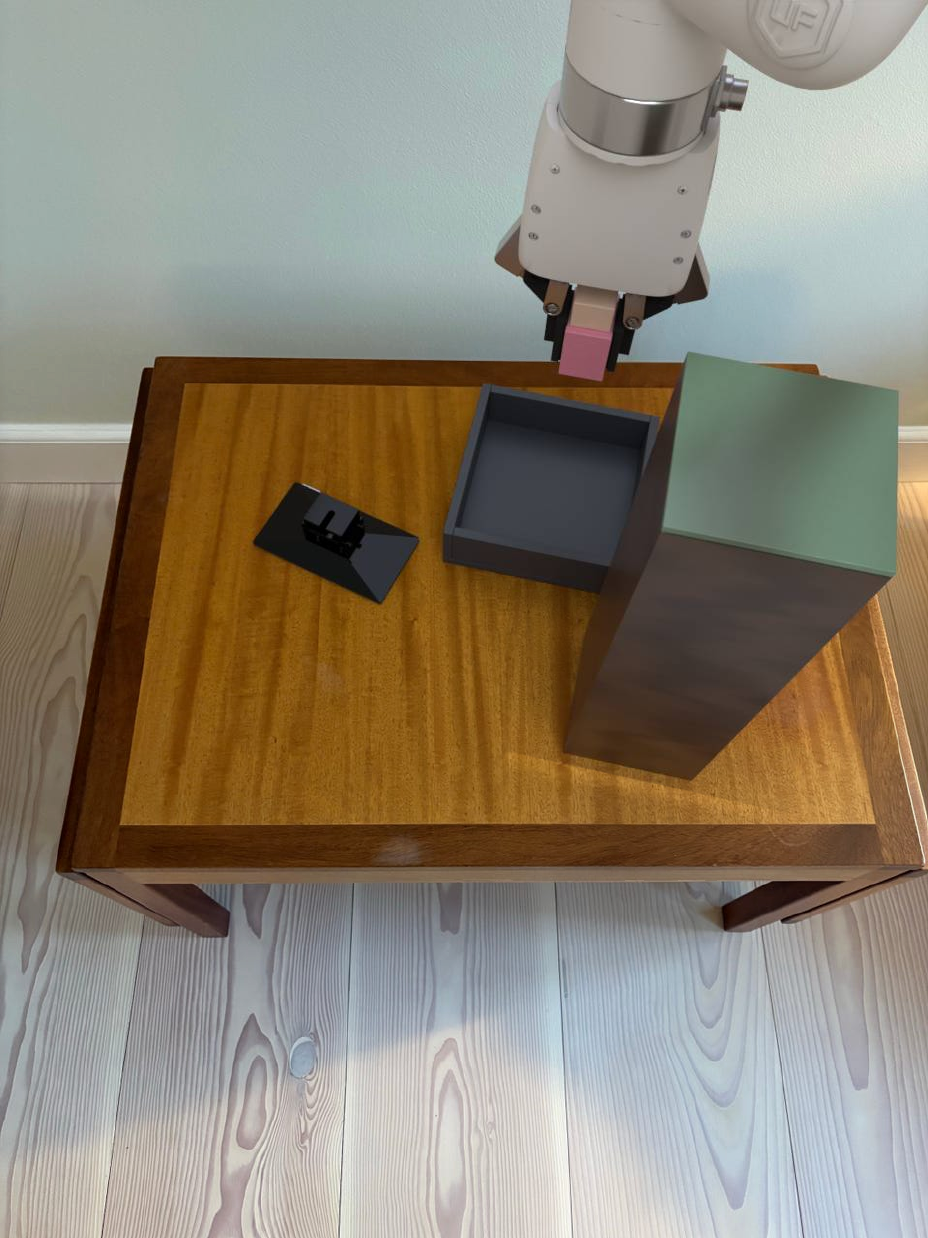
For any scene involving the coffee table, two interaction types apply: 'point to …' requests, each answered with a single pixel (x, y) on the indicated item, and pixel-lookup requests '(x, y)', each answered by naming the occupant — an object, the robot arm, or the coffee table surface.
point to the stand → (735, 559)
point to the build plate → (337, 542)
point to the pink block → (589, 332)
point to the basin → (546, 487)
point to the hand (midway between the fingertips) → (585, 349)
